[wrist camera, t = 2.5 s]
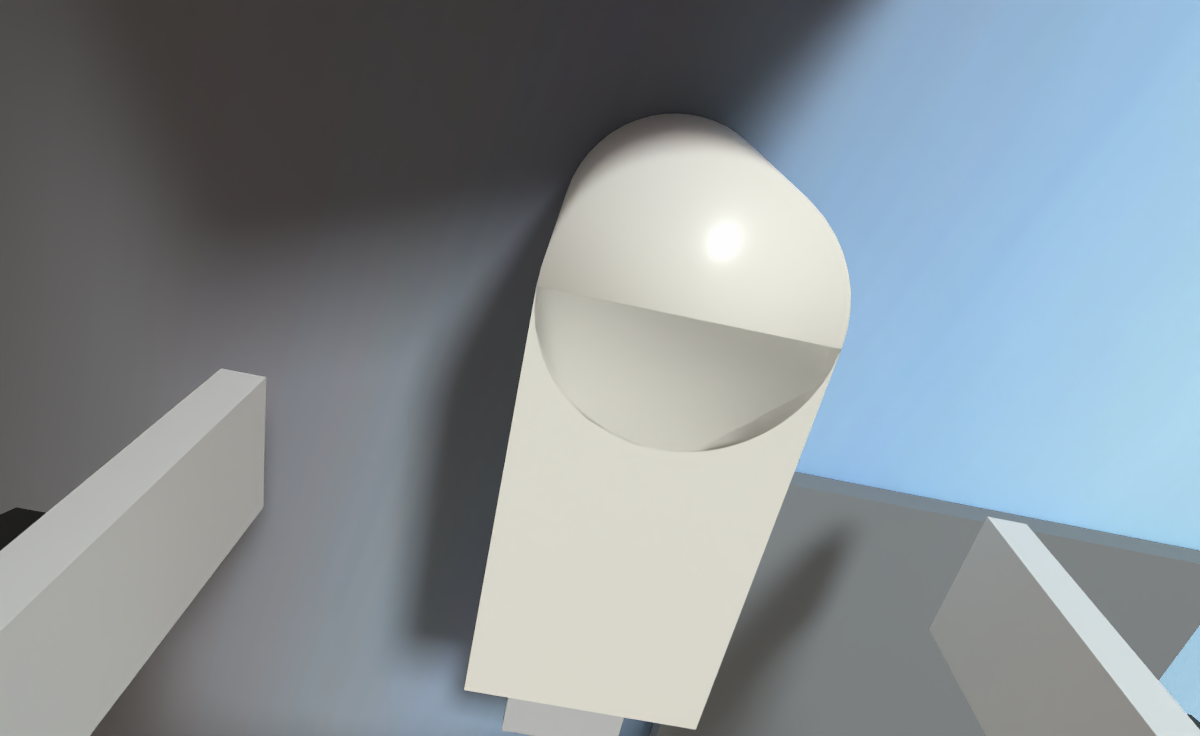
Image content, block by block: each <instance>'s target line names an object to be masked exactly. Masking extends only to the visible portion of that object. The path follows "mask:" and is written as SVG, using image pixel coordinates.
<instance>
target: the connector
mask: <svg viewBox="0 0 1200 736" xmlns="http://www.w3.org/2000/svg"><path fill="white" fill-rule="evenodd" d="M850 302H851V290H850V281H849V273H848V269H847V265H846V262H845V258H844V254H843V251H842V249H841V247H840V245H839V242H838V240H837V238H836V235H835V234H834V232H833V230H832V229H831V227H830V226H829V224H828V222H827V221H826V219H825V218H824V216H823V215H822V214H821V213H820V212H819V211H818V209H817V208H816V207H815V206H814V205H813V204H812V202H811V201H810V200H809V199H808V198H807V197H806V196H804V195H803V194H802V193H801V192H800V191H799V190H798V189H797V188H796V187H795V186H794V185H793V184H792V183H791V182H790V181H789V180H788V179H787V178H785V177H784V176H783V175H782V174H781V173H780V172H779V171H778V170H777V169H776V168H775V167H774V166H773V165H772V164H771V163H770V162H769V161H767V160H766V159H765V158H764V157H763V156H762V155H761V154H760V153H759V152H758V151H757V150H756V149H755V148H754V147H753V146H752V145H751V144H749V143H748V142H747V141H746V140H745V139H744V138H743V137H741V136H740V135H739V134H738V133H736V132H734V131H733V130H731V129H730V128H728V127H727V126H725V125H722V124H720V123H718V122H716V121H714V120H711V119H707V118H704V117H701V116H696V115H689V114H672V113H668V114H660V115H653V116H649V117H645V118H641V119H638V120H636V121H633V122H631V123H628V124H626V125H624V126H622V127H620V128H619V129H617V130H615V131H613V132H612V133H610V134H609V135H608V136H606V137H605V138H604V139H603V140H601V141H600V142H599V143H598V144H597V145H596V146H595V147H594V148H593V149H592V150H591V151H590V152H589V153H588V154H587V156H586V157H585V158H584V160H583V161H582V162H581V164H580V165H579V167H578V168H577V170H576V172H575V174H574V176H573V177H572V180H571V182H570V185H569V187H568V190H567V192H566V195H565V198H564V201H563V204H562V207H561V210H560V213H559V216H558V219H557V222H556V225H555V228H554V231H553V234H552V237H551V239H550V242H549V245H548V248H547V251H546V254H545V257H544V260H543V263H542V266H541V270H540V274H539V278H538V282H537V286H536V291H535V297H534V302H533V308H532V313H531V319H530V324H529V330H528V336H527V341H526V347H525V352H524V358H523V364H522V369H521V375H520V380H519V386H518V391H517V397H516V403H515V408H514V414H513V419H512V425H511V431H510V436H509V442H508V447H507V453H506V458H505V464H504V470H503V475H502V481H501V486H500V492H499V498H498V503H497V509H496V514H495V520H494V525H493V531H492V537H491V542H490V548H489V553H488V559H487V565H486V570H485V576H484V581H483V587H482V592H481V598H480V604H479V609H478V615H477V620H476V626H475V632H474V637H473V643H472V648H471V654H470V659H469V665H468V671H467V676H466V682H465V687H464V690H467V691H472V692H478V693H484V694H490V695H496V696H502V697H507V701H506V707H505V713H504V718H503V724H502V730H503V731H509V732H515V733H521V734H527V735H533V736H618V735H619V732H620V729H621V726H622V723H623V719H624V718H630V719H636V720H642V721H648V722H653V723H659V724H665V725H671V726H677V727H683V728H688V729H694V730H696V728H697V725H698V723H699V720H700V717H701V715H702V712H703V709H704V707H705V704H706V702H707V699H708V696H709V694H710V691H711V689H712V686H713V683H714V681H715V678H716V675H717V673H718V670H719V668H720V665H721V662H722V660H723V657H724V655H725V652H726V649H727V647H728V644H729V641H730V639H731V636H732V634H733V631H734V628H735V626H736V623H737V621H738V618H739V615H740V613H741V610H742V608H743V605H744V602H745V600H746V597H747V594H748V592H749V589H750V587H751V584H752V581H753V579H754V576H755V574H756V571H757V568H758V566H759V563H760V560H761V558H762V555H763V553H764V550H765V547H766V545H767V542H768V540H769V537H770V534H771V532H772V529H773V526H774V524H775V521H776V519H777V516H778V513H779V511H780V508H781V506H782V503H783V500H784V498H785V495H786V493H787V490H788V487H789V485H790V482H791V479H792V477H793V474H794V472H795V469H796V466H797V464H798V461H799V459H800V456H801V453H802V451H803V448H804V445H805V443H806V440H807V438H808V435H809V432H810V430H811V427H812V425H813V422H814V419H815V417H816V414H817V411H818V409H819V406H820V404H821V401H822V398H823V396H824V393H825V391H826V388H827V385H828V383H829V380H830V378H831V375H832V372H833V370H834V367H835V364H836V362H837V359H838V357H839V354H840V351H841V349H842V345H843V342H844V339H845V336H846V332H847V328H848V322H849V316H850Z"/></svg>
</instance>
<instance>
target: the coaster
mask: <svg viewBox="0 0 1200 736" xmlns="http://www.w3.org/2000/svg"><path fill="white" fill-rule="evenodd" d="M987 517H993V518H998V519H1003V520H1008V521H1013V522H1018V523H1024V524H1027V525H1028V526H1029V528H1030V529H1031V530H1032V531H1033V532H1034V534H1035V535H1036V536H1037V537H1038V538H1039V539H1040V541H1041V542H1042V543H1043V544H1044V545H1045V547H1046V548H1047V549H1048V550H1049V551H1050V553H1051V554H1052V555H1053V556H1054V557H1055V558H1056V560H1057V561H1058V562H1059V563H1060V564H1061V566H1062V567H1063V568H1064V569H1065V570H1066V572H1067V573H1068V574H1069V575H1070V576H1071V577H1072V579H1073V580H1074V581H1075V582H1076V583H1077V585H1078V586H1079V587H1080V588H1081V589H1082V591H1083V592H1084V593H1085V594H1086V595H1087V596H1088V598H1089V599H1090V600H1091V601H1092V602H1093V604H1094V605H1095V606H1096V607H1097V608H1098V610H1099V611H1100V612H1101V613H1102V614H1103V615H1104V617H1105V618H1106V619H1107V620H1108V621H1109V623H1110V624H1111V625H1112V626H1113V627H1114V629H1115V630H1116V631H1117V632H1118V633H1119V634H1120V636H1121V637H1122V638H1123V639H1124V640H1125V642H1126V643H1127V644H1128V645H1129V646H1130V648H1131V649H1132V650H1133V651H1134V652H1135V653H1136V655H1137V656H1138V657H1139V658H1140V659H1141V661H1142V662H1143V663H1144V664H1145V665H1146V667H1147V668H1148V669H1149V670H1150V671H1151V672H1152V674H1153V675H1154V676H1155V677H1156V678H1157V680H1159V679H1160V678H1161V676H1162V675H1163V674H1164V672H1165V671H1166V670H1167V668H1168V667H1169V666H1170V664H1171V663H1172V662H1173V660H1174V659H1175V658H1176V656H1177V655H1178V654H1179V652H1180V651H1181V650H1182V648H1183V647H1184V645H1185V644H1186V643H1187V641H1188V640H1189V639H1190V637H1191V636H1192V635H1193V633H1194V632H1195V631H1196V629H1197V628H1198V627H1199V625H1200V551H1198V550H1193V549H1188V548H1183V547H1178V546H1173V545H1167V544H1162V543H1157V542H1152V541H1147V540H1142V539H1137V538H1131V537H1126V536H1121V535H1116V534H1111V533H1106V532H1101V531H1096V530H1090V529H1085V528H1080V527H1075V526H1070V525H1065V524H1060V523H1054V522H1049V521H1044V520H1039V519H1034V518H1029V517H1024V516H1018V515H1013V514H1008V513H1003V512H998V511H993V510H988V509H983V508H977V507H972V506H967V505H962V504H957V503H952V502H947V501H941V500H936V499H931V498H926V497H921V496H916V495H911V494H905V493H900V492H895V491H890V490H885V489H880V488H875V487H870V486H864V485H859V484H854V483H849V482H844V481H839V480H834V479H828V478H823V477H818V476H813V475H808V474H803V473H798V472H794V474H793V477H792V479H791V482H790V485H789V487H788V490H787V493H786V495H785V498H784V500H783V503H782V506H781V508H780V511H779V513H778V516H777V519H776V521H775V524H774V526H773V529H772V532H771V534H770V537H769V540H768V542H767V545H766V547H765V550H764V553H763V555H762V558H761V560H760V563H759V566H758V568H757V571H756V574H755V576H754V579H753V581H752V584H751V587H750V589H749V592H748V594H747V597H746V600H745V602H744V605H743V608H742V610H741V613H740V615H739V618H738V621H737V623H736V626H735V628H734V631H733V634H732V636H731V639H730V641H729V644H728V647H727V649H726V652H725V655H724V657H723V660H722V662H721V665H720V668H719V670H718V673H717V675H716V678H715V681H714V683H713V686H712V689H711V691H710V694H709V696H708V699H707V702H706V704H705V707H704V709H703V712H702V715H701V717H700V720H699V723H698V725H697V728H696V730H694V729H688V728H683V727H677V726H671V725H665V724H659V723H653V726H652V729H651V732H650V734H649V736H985V734H984V732H983V730H982V728H981V726H980V724H979V723H978V721H977V719H976V717H975V715H974V713H973V711H972V709H971V707H970V705H969V704H968V702H967V700H966V698H965V696H964V694H963V692H962V690H961V688H960V686H959V685H958V683H957V681H956V679H955V677H954V675H953V673H952V671H951V669H950V667H949V666H948V664H947V662H946V660H945V658H944V656H943V654H942V652H941V650H940V649H939V647H938V645H937V643H936V641H935V639H934V637H933V635H932V633H931V631H930V630H929V628H930V626H931V624H932V622H933V620H934V618H935V616H936V615H937V613H938V611H939V609H940V607H941V605H942V603H943V601H944V599H945V597H946V595H947V593H948V591H949V589H950V587H951V586H952V584H953V582H954V580H955V578H956V576H957V574H958V572H959V570H960V568H961V566H962V564H963V562H964V560H965V558H966V556H967V555H968V553H969V551H970V549H971V547H972V545H973V543H974V541H975V539H976V537H977V535H978V533H979V531H980V529H981V527H982V525H983V524H984V522H985V520H986V518H987Z"/></svg>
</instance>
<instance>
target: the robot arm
mask: <svg viewBox="0 0 1200 736" xmlns="http://www.w3.org/2000/svg"><path fill="white" fill-rule="evenodd" d="M265 402H266V377H263V376H258V375H252V374H247V373H242V372H237V371H232V370H226V369H220V370H219V371H217V372H216V373H215V374H214V375H213V376H211V377H210V378H209V379H208V380H206V381H205V382H204V383H203V384H202V385H200V386H199V387H198V388H197V389H196V390H194V391H193V392H192V393H191V394H190V395H188V396H187V397H186V398H185V399H183V400H182V401H181V402H180V403H179V404H177V405H176V406H175V407H174V408H173V409H171V410H170V411H169V412H168V413H167V414H165V415H164V416H163V417H162V418H160V419H159V420H158V421H157V422H156V423H154V424H153V425H152V426H151V427H150V428H148V429H147V430H146V431H145V432H144V433H142V434H141V435H140V436H139V437H138V438H136V439H135V440H134V441H133V442H131V443H130V444H129V445H128V446H127V447H125V448H124V449H123V450H122V451H121V452H119V453H118V454H117V455H116V456H115V457H113V458H112V459H111V460H110V461H108V462H107V463H106V464H105V465H104V466H102V467H101V468H100V469H99V470H98V471H96V472H95V473H94V474H93V475H92V476H90V477H89V478H88V479H87V480H85V481H84V482H83V483H82V484H81V485H79V486H78V487H77V488H76V489H75V490H73V491H72V492H71V493H70V494H69V495H67V496H66V497H65V498H64V499H62V500H61V501H60V502H59V503H58V504H56V505H55V506H54V507H53V508H52V509H50V510H49V511H48V512H47V513H44V512H38V511H33V510H27V509H22V508H14V509H12V510H10V511H7V512H5V513H3V514H1V515H0V736H90V735H91V734H92V732H93V731H94V730H95V728H96V727H97V726H98V724H99V723H100V722H101V720H102V719H103V718H104V716H105V715H106V714H107V712H108V711H109V710H110V709H111V707H112V706H113V705H114V703H115V702H116V701H117V699H118V698H119V697H120V695H121V694H122V693H123V691H124V690H125V689H126V687H127V686H128V685H129V684H130V682H131V681H132V680H133V678H134V677H135V676H136V674H137V673H138V672H139V670H140V669H141V668H142V666H143V665H144V664H145V662H146V661H147V660H148V659H149V657H150V656H151V655H152V653H153V652H154V651H155V649H156V648H157V647H158V645H159V644H160V643H161V641H162V640H163V639H164V637H165V636H166V635H167V634H168V632H169V631H170V630H171V628H172V627H173V626H174V624H175V623H176V622H177V620H178V619H179V618H180V616H181V615H182V614H183V612H184V611H185V610H186V609H187V607H188V606H189V605H190V603H191V602H192V601H193V599H194V598H195V597H196V595H197V594H198V593H199V591H200V590H201V589H202V587H203V586H204V585H205V584H206V582H207V581H208V580H209V578H210V577H211V576H212V574H213V573H214V572H215V570H216V569H217V568H218V566H219V565H220V564H221V562H222V561H223V560H224V559H225V557H226V556H227V555H228V553H229V552H230V551H231V549H232V548H233V547H234V545H235V544H236V543H237V541H238V540H239V539H240V537H241V536H242V535H243V534H244V532H245V531H246V530H247V528H248V527H249V526H250V524H251V523H252V522H253V520H254V519H255V518H256V516H257V515H258V514H259V512H260V511H261V510H262V509H263V494H264V448H265ZM929 630H930V631H931V633H932V635H933V637H934V639H935V641H936V643H937V645H938V647H939V649H940V650H941V652H942V654H943V656H944V658H945V660H946V662H947V664H948V666H949V667H950V669H951V671H952V673H953V675H954V677H955V679H956V681H957V683H958V685H959V686H960V688H961V690H962V692H963V694H964V696H965V698H966V700H967V702H968V704H969V705H970V707H971V709H972V711H973V713H974V715H975V717H976V719H977V721H978V723H979V724H980V726H981V728H982V730H983V732H984V734H985V736H1200V722H1199V721H1198V720H1196V719H1195V718H1194V717H1193V716H1192V715H1189V714H1186V713H1185V712H1184V710H1183V709H1182V708H1181V707H1180V706H1179V705H1178V703H1177V702H1176V701H1175V700H1174V699H1173V697H1172V696H1171V695H1170V694H1169V693H1168V691H1167V690H1166V689H1165V688H1164V687H1163V686H1162V684H1161V683H1160V682H1159V681H1158V680H1157V678H1156V677H1155V676H1154V675H1153V674H1152V672H1151V671H1150V670H1149V669H1148V668H1147V667H1146V665H1145V664H1144V663H1143V662H1142V661H1141V659H1140V658H1139V657H1138V656H1137V655H1136V653H1135V652H1134V651H1133V650H1132V649H1131V648H1130V646H1129V645H1128V644H1127V643H1126V642H1125V640H1124V639H1123V638H1122V637H1121V636H1120V634H1119V633H1118V632H1117V631H1116V630H1115V629H1114V627H1113V626H1112V625H1111V624H1110V623H1109V621H1108V620H1107V619H1106V618H1105V617H1104V615H1103V614H1102V613H1101V612H1100V611H1099V610H1098V608H1097V607H1096V606H1095V605H1094V604H1093V602H1092V601H1091V600H1090V599H1089V598H1088V596H1087V595H1086V594H1085V593H1084V592H1083V591H1082V589H1081V588H1080V587H1079V586H1078V585H1077V583H1076V582H1075V581H1074V580H1073V579H1072V577H1071V576H1070V575H1069V574H1068V573H1067V572H1066V570H1065V569H1064V568H1063V567H1062V566H1061V564H1060V563H1059V562H1058V561H1057V560H1056V558H1055V557H1054V556H1053V555H1052V554H1051V553H1050V551H1049V550H1048V549H1047V548H1046V547H1045V545H1044V544H1043V543H1042V542H1041V541H1040V539H1039V538H1038V537H1037V536H1036V535H1035V534H1034V532H1033V531H1032V530H1031V529H1030V528H1029V526H1028V525H1027V524H1024V523H1018V522H1013V521H1008V520H1003V519H998V518H993V517H987V518H986V520H985V522H984V524H983V525H982V527H981V529H980V531H979V533H978V535H977V537H976V539H975V541H974V543H973V545H972V547H971V549H970V551H969V553H968V555H967V556H966V558H965V560H964V562H963V564H962V566H961V568H960V570H959V572H958V574H957V576H956V578H955V580H954V582H953V584H952V586H951V587H950V589H949V591H948V593H947V595H946V597H945V599H944V601H943V603H942V605H941V607H940V609H939V611H938V613H937V615H936V616H935V618H934V620H933V622H932V624H931V626H930V628H929Z"/></svg>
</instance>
